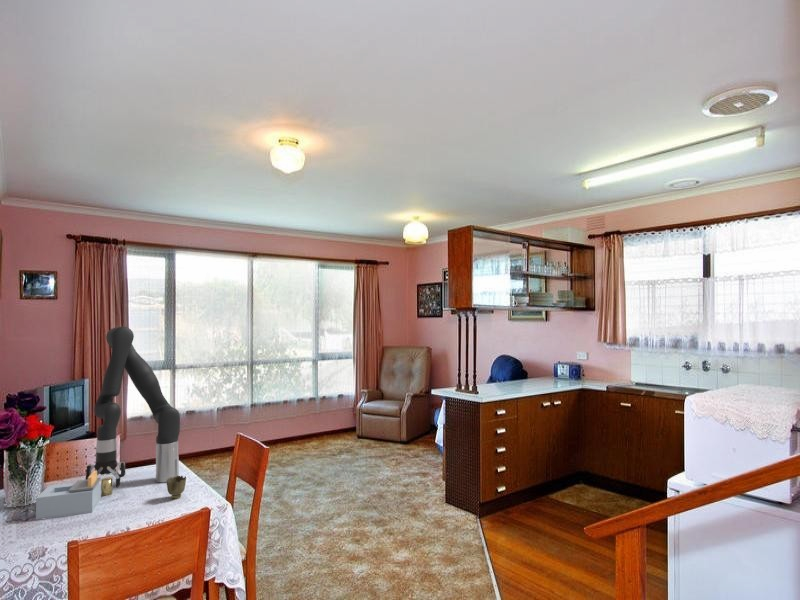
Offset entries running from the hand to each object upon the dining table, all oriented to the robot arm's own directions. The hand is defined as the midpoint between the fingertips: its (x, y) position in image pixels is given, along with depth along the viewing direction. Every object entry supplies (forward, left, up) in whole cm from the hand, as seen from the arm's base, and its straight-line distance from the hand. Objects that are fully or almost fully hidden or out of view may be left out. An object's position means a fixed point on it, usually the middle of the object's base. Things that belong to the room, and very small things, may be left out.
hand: (105, 488), depth 204 cm
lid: (+4, +13, +6) cm, 15 cm away
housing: (+9, +13, -3) cm, 16 cm away
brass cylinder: (-1, 0, -3) cm, 3 cm away
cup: (-29, +16, -3) cm, 33 cm away
